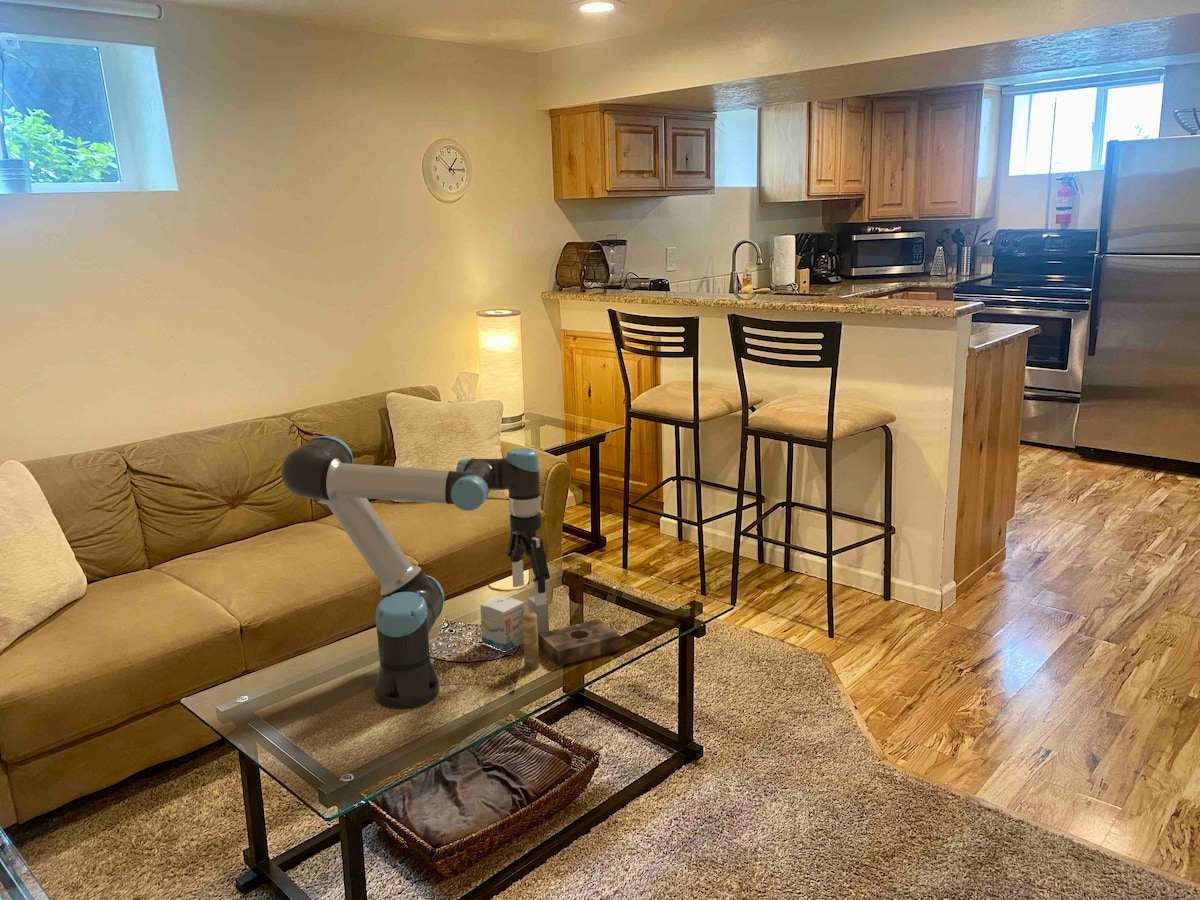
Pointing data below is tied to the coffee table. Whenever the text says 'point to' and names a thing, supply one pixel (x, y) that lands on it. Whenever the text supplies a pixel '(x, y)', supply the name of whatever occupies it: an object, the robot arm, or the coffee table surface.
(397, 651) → the robot arm
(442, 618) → the coffee table surface
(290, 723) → the coffee table surface
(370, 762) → the coffee table surface
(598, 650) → the socket block
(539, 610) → the square peg
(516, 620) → the ink box
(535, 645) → the oak dowel
